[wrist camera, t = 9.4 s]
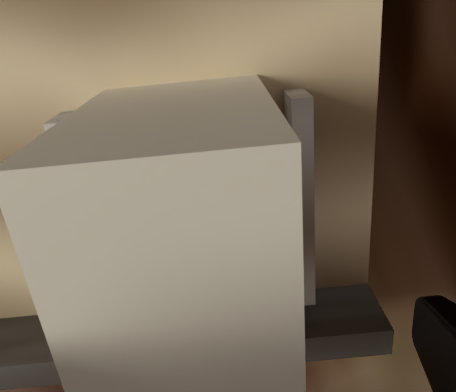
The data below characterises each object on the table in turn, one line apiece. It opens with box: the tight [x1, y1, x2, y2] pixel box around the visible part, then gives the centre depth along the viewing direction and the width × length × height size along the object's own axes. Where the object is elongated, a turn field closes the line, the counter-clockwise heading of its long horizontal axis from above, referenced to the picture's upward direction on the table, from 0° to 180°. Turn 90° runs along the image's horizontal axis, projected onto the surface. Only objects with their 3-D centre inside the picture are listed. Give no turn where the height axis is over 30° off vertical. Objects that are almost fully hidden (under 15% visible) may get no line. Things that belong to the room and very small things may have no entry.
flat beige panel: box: [0, 0, 394, 390], centre depth 13 cm, size 14×22×4 cm, turn 95°
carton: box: [0, 75, 306, 392], centre depth 11 cm, size 5×7×7 cm, turn 5°
